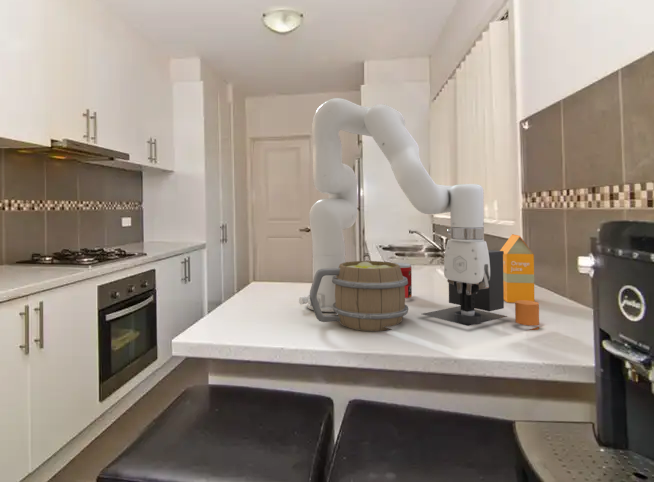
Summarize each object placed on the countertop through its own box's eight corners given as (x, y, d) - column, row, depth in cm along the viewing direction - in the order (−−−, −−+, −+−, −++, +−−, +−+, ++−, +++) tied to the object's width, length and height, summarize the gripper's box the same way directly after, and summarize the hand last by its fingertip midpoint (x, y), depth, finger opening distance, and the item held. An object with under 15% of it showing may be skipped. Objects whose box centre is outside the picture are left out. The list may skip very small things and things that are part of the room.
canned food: (414, 301, 138) (414, 265, 138) (388, 301, 138) (388, 265, 138) (407, 296, 146) (407, 262, 146) (383, 296, 146) (382, 262, 146)
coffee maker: (486, 312, 111) (485, 253, 111) (444, 303, 122) (444, 249, 122) (504, 308, 115) (503, 251, 115) (462, 300, 126) (462, 247, 126)
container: (531, 331, 105) (531, 305, 105) (511, 326, 109) (510, 301, 109) (543, 328, 108) (543, 303, 108) (522, 323, 112) (522, 299, 112)
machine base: (469, 331, 106) (469, 318, 106) (420, 318, 118) (420, 306, 118) (509, 321, 114) (509, 309, 114) (459, 310, 126) (459, 299, 126)
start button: (469, 319, 108) (469, 312, 108) (458, 317, 111) (458, 309, 111) (477, 317, 110) (477, 310, 110) (466, 315, 112) (466, 308, 112)
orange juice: (506, 302, 136) (505, 235, 136) (499, 296, 144) (498, 233, 145) (535, 303, 134) (534, 235, 134) (526, 297, 143) (525, 233, 143)
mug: (303, 316, 121) (302, 260, 121) (391, 312, 124) (391, 258, 124) (317, 336, 102) (317, 270, 102) (421, 331, 105) (420, 267, 106)
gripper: (431, 233, 115) (432, 306, 114) (485, 237, 102) (486, 318, 102) (450, 232, 118) (451, 302, 118) (505, 235, 106) (505, 314, 106)
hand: (467, 310), depth 110 cm, fingers closed
